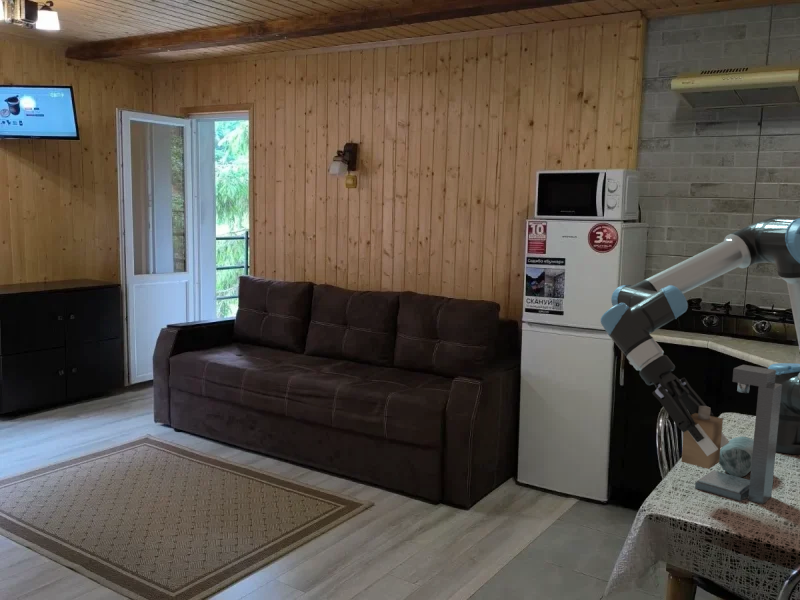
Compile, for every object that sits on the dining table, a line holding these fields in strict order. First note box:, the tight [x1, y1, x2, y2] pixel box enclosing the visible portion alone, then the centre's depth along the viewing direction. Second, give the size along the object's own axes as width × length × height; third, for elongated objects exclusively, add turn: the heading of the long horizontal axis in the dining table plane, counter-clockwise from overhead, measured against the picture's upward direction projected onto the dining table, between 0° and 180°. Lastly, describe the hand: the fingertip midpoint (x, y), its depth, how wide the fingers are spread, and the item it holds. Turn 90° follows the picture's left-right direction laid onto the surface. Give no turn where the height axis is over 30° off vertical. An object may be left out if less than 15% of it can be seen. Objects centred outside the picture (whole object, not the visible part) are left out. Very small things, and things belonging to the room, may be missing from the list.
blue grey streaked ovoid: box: [718, 436, 754, 478], centre depth 175 cm, size 14×10×10 cm
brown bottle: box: [680, 406, 724, 470], centre depth 156 cm, size 6×6×12 cm
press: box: [694, 364, 782, 505], centre depth 161 cm, size 10×14×29 cm
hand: (718, 448), depth 154 cm, fingers closed on brown bottle, 6 cm apart
